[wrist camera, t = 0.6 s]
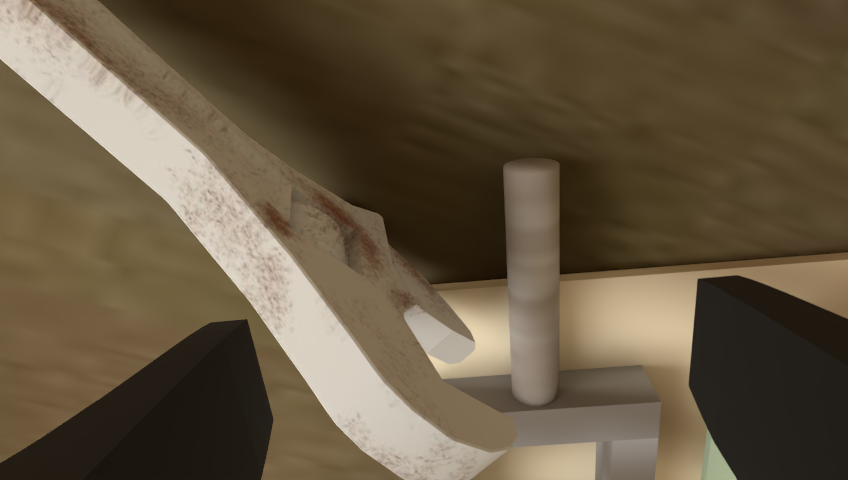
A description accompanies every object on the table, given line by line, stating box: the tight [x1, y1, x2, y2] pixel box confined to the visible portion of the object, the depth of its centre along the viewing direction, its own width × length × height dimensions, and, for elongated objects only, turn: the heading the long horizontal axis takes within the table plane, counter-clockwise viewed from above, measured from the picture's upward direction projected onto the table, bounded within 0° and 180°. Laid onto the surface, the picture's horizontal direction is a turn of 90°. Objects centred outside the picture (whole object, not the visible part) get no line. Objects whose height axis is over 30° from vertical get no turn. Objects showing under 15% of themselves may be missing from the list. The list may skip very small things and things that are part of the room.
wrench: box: [0, 0, 518, 480], centre depth 15 cm, size 8×2×30 cm
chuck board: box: [427, 158, 848, 480], centre depth 21 cm, size 17×19×2 cm
